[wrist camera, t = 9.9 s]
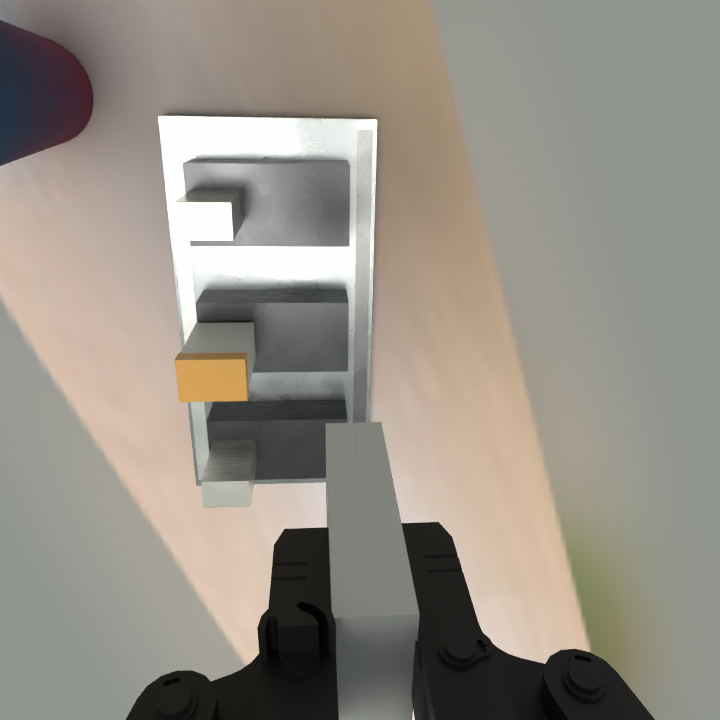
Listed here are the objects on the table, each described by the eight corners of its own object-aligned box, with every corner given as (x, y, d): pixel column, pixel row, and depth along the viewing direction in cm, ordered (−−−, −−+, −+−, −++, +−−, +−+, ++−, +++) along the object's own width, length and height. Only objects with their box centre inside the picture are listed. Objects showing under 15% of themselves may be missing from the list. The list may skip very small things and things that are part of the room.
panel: (164, 115, 32) (118, 120, 24) (374, 118, 33) (393, 124, 25) (200, 472, 40) (174, 557, 33) (365, 468, 41) (377, 550, 34)
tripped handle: (195, 321, 32) (175, 360, 27) (254, 321, 32) (244, 359, 28) (198, 358, 33) (179, 402, 28) (256, 358, 33) (247, 400, 28)
